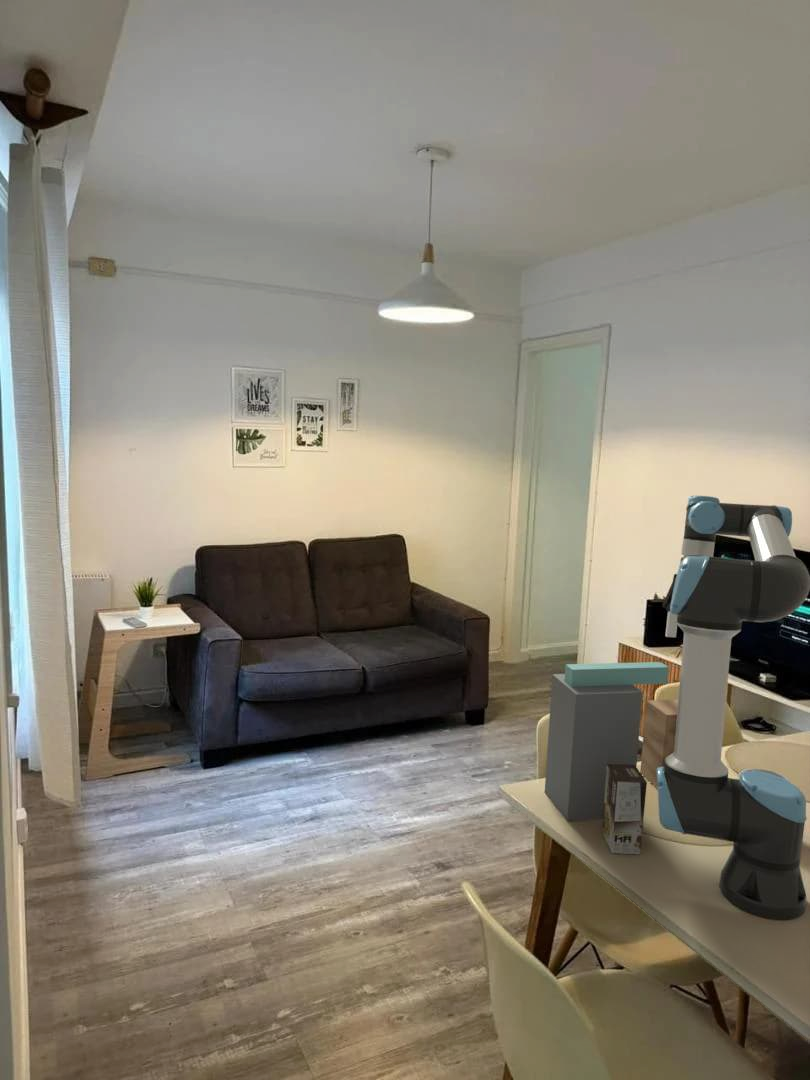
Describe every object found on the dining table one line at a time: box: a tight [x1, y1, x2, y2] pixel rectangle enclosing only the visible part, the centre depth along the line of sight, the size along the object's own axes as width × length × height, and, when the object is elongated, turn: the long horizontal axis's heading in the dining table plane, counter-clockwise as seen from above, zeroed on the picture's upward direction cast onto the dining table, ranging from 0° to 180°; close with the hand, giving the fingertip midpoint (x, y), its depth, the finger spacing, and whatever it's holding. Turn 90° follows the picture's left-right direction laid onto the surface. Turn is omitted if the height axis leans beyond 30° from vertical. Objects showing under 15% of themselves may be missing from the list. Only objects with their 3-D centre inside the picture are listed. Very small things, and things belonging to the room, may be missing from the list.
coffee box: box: [601, 764, 648, 856], centre depth 164 cm, size 9×6×16 cm
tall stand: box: [544, 673, 644, 822], centre depth 179 cm, size 16×14×30 cm
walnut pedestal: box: [639, 698, 679, 790], centre depth 193 cm, size 10×10×20 cm
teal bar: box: [564, 661, 670, 687], centre depth 178 cm, size 24×4×4 cm, turn 101°
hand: (686, 641), depth 192 cm, fingers open, 13 cm apart
